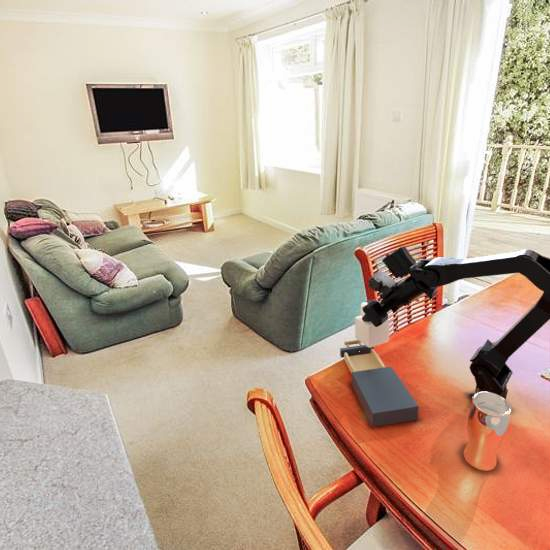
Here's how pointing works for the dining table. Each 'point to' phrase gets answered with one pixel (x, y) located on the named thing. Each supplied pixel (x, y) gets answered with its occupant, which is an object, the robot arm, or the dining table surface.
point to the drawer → (360, 357)
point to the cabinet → (384, 396)
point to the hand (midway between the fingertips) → (368, 315)
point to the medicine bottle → (370, 330)
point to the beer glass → (486, 429)
